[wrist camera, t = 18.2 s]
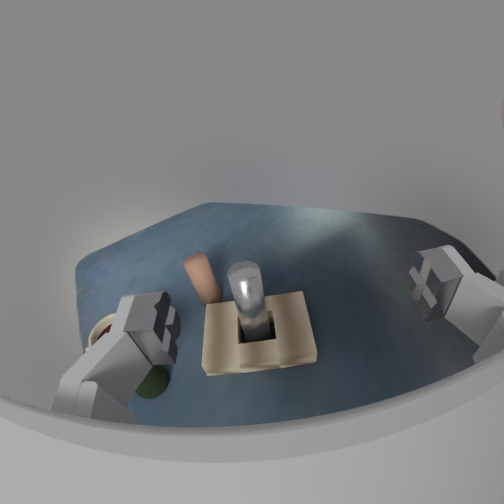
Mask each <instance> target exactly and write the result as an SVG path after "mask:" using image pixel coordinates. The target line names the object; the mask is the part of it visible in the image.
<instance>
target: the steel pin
mask: <svg viewBox="0 0 504 504" xmlns="http://www.w3.org/2000/svg"><path fill="white" fill-rule="evenodd" d="M227 276H228V279H229V283H230V286H231V290H232V293H233V297H234V300H235V304H236V307H237V311H238V314H239V318H240V321H241V324H242V328H243V331H244V335H245V338H246V341H247V343H249V342H257V341H265V340H271V338H272V336H271V330H270V325H269V319H268V313H267V308H266V302H265V296H264V291H263V285H262V280H261V274H260V269H259V266H258V265H257V264H256V263H254V262H251V261H242V262H238V263H236V264H234V265H233V266H231V267H230V268H229V270H228V272H227Z"/></svg>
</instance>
